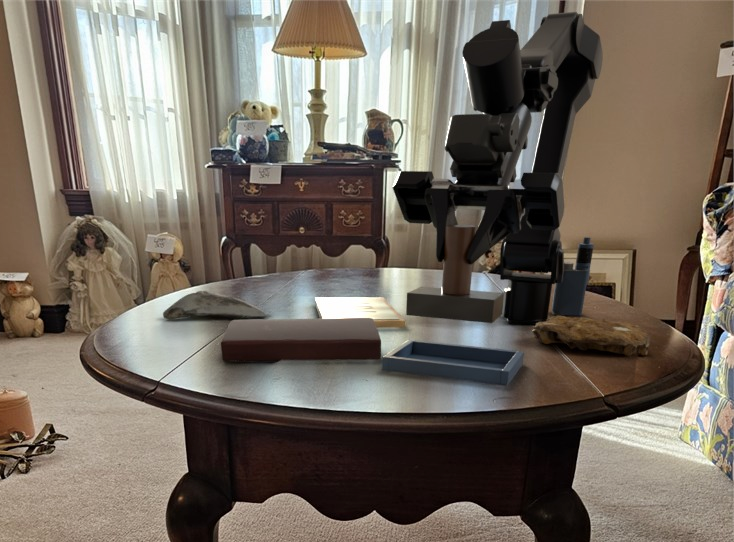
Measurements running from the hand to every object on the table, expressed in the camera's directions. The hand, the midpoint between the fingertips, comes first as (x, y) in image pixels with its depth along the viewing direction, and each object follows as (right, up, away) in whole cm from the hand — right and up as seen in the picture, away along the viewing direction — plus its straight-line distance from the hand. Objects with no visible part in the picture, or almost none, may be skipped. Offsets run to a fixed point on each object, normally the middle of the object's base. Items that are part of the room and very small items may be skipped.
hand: (453, 260), depth 71 cm
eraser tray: (+1, -11, +6) cm, 13 cm away
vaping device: (+25, +5, +38) cm, 46 cm away
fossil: (-33, +3, +34) cm, 47 cm away
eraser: (+1, -5, +4) cm, 6 cm away
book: (-18, -7, +14) cm, 24 cm away
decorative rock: (+20, -6, +17) cm, 27 cm away
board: (-11, +3, +34) cm, 36 cm away
